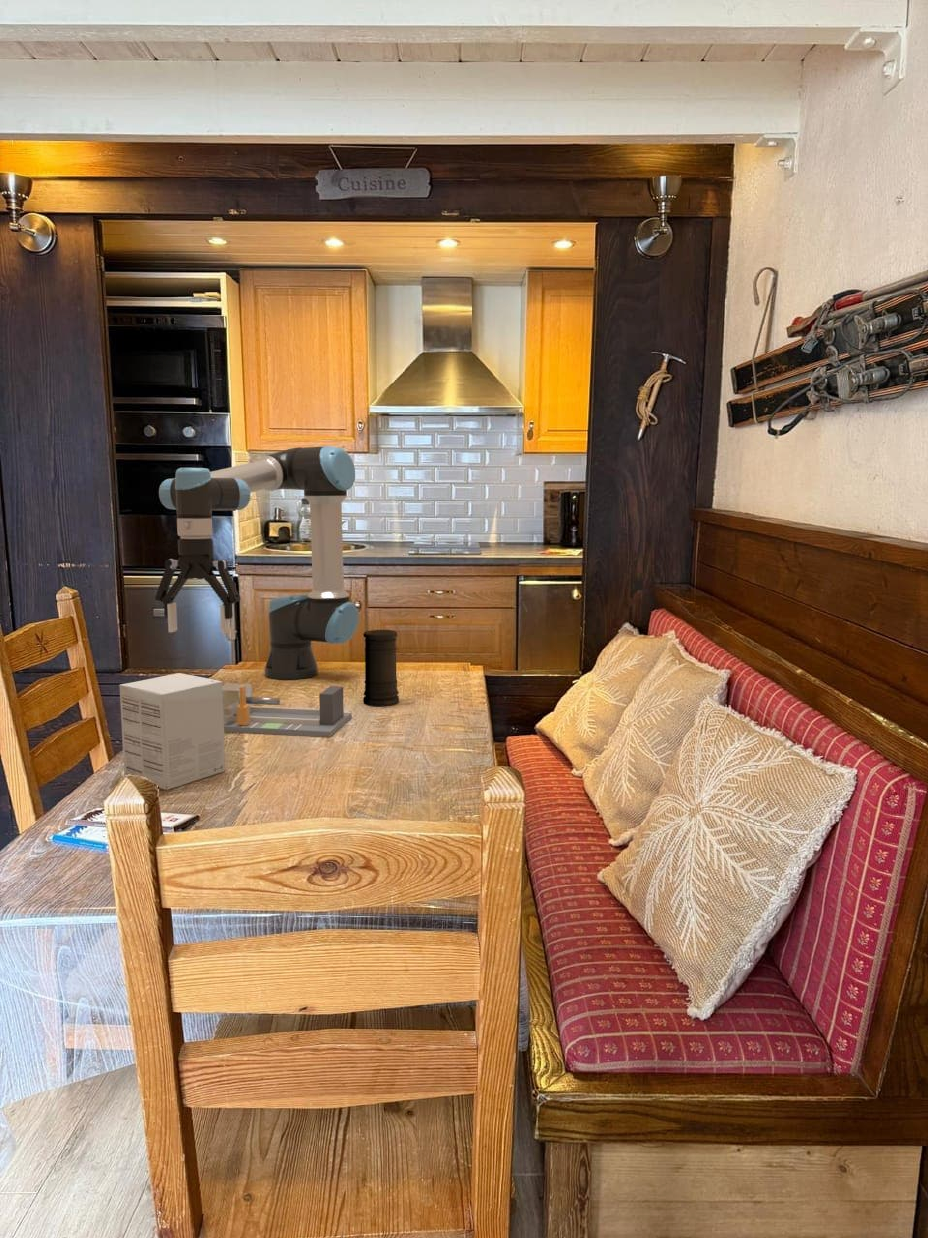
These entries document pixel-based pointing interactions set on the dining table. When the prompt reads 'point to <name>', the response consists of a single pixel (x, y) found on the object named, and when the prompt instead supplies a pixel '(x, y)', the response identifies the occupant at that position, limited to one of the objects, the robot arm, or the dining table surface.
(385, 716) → the dining table surface
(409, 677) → the dining table surface
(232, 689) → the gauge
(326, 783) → the dining table surface
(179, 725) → the supplement box
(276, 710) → the grey slider board
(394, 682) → the container
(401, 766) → the dining table surface
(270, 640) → the robot arm
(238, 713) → the orange t-shaped stamp
